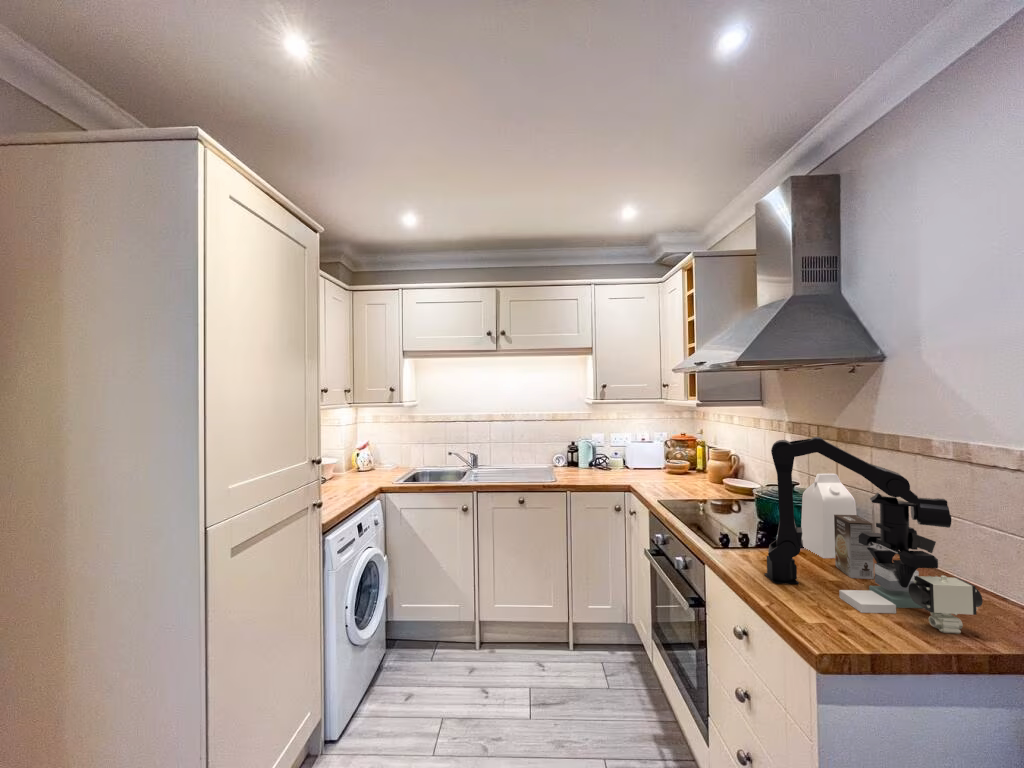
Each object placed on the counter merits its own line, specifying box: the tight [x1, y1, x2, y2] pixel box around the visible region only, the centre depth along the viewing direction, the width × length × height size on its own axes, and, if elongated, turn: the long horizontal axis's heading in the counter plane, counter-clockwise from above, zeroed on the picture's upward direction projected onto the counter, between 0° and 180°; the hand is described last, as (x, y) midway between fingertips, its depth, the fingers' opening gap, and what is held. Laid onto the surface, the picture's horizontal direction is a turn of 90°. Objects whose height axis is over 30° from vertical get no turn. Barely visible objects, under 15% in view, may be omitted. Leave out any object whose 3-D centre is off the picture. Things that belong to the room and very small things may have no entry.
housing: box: [873, 562, 920, 591], centre depth 115 cm, size 5×7×6 cm
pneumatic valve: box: [909, 575, 984, 635], centre depth 101 cm, size 6×12×12 cm, turn 82°
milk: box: [800, 473, 858, 559], centre depth 150 cm, size 12×12×26 cm
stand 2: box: [868, 585, 924, 609], centre depth 115 cm, size 8×8×2 cm
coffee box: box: [834, 515, 875, 580], centre depth 133 cm, size 9×6×16 cm
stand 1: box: [838, 589, 897, 614], centre depth 112 cm, size 8×8×2 cm
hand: (896, 582), depth 115 cm, fingers closed on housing, 5 cm apart
